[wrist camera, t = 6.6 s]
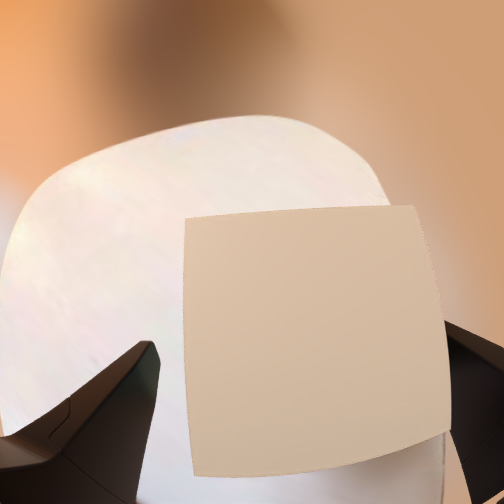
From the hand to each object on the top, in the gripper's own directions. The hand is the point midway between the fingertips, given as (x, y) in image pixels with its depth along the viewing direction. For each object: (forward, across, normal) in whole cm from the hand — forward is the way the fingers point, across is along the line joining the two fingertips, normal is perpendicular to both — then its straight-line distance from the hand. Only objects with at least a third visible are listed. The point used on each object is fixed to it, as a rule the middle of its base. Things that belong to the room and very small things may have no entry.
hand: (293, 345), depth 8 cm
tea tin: (+6, 0, +6) cm, 9 cm away
